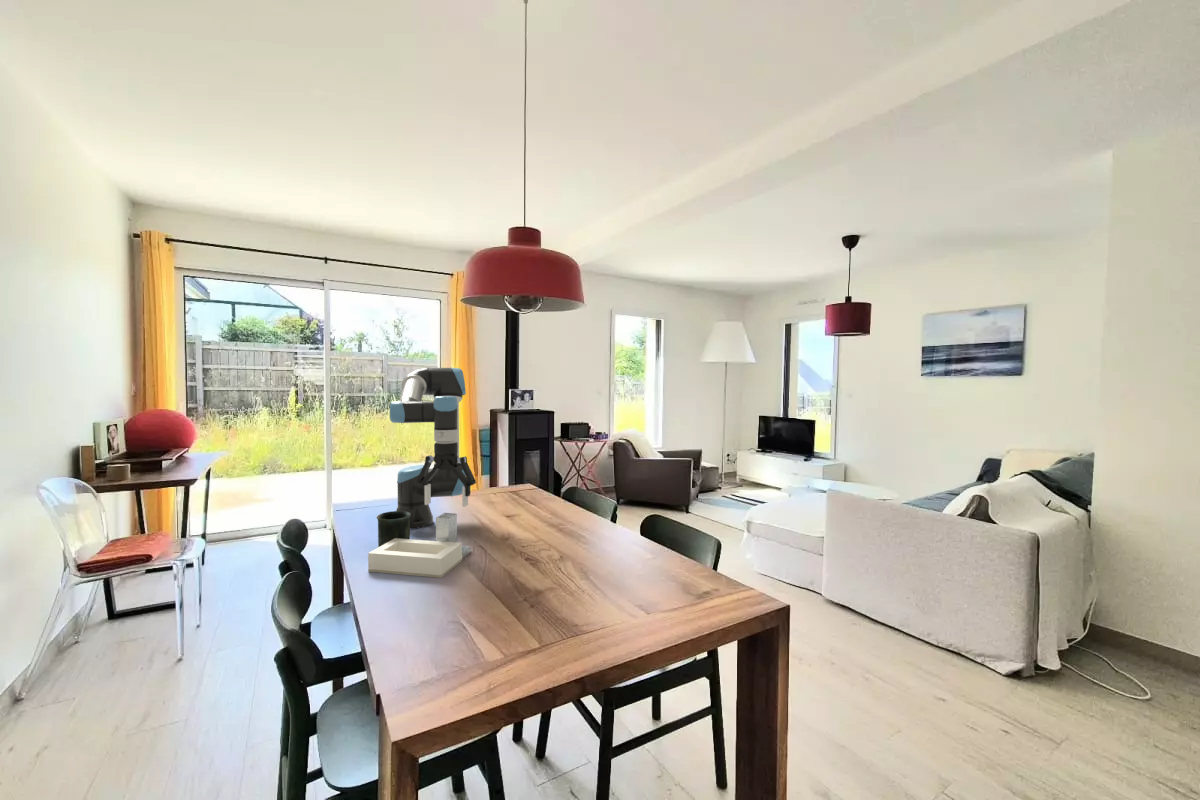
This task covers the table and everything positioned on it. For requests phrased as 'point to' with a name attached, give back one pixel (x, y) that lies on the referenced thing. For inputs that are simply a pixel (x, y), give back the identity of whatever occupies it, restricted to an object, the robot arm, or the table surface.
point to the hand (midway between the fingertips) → (446, 504)
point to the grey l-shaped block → (449, 530)
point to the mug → (393, 526)
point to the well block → (415, 557)
